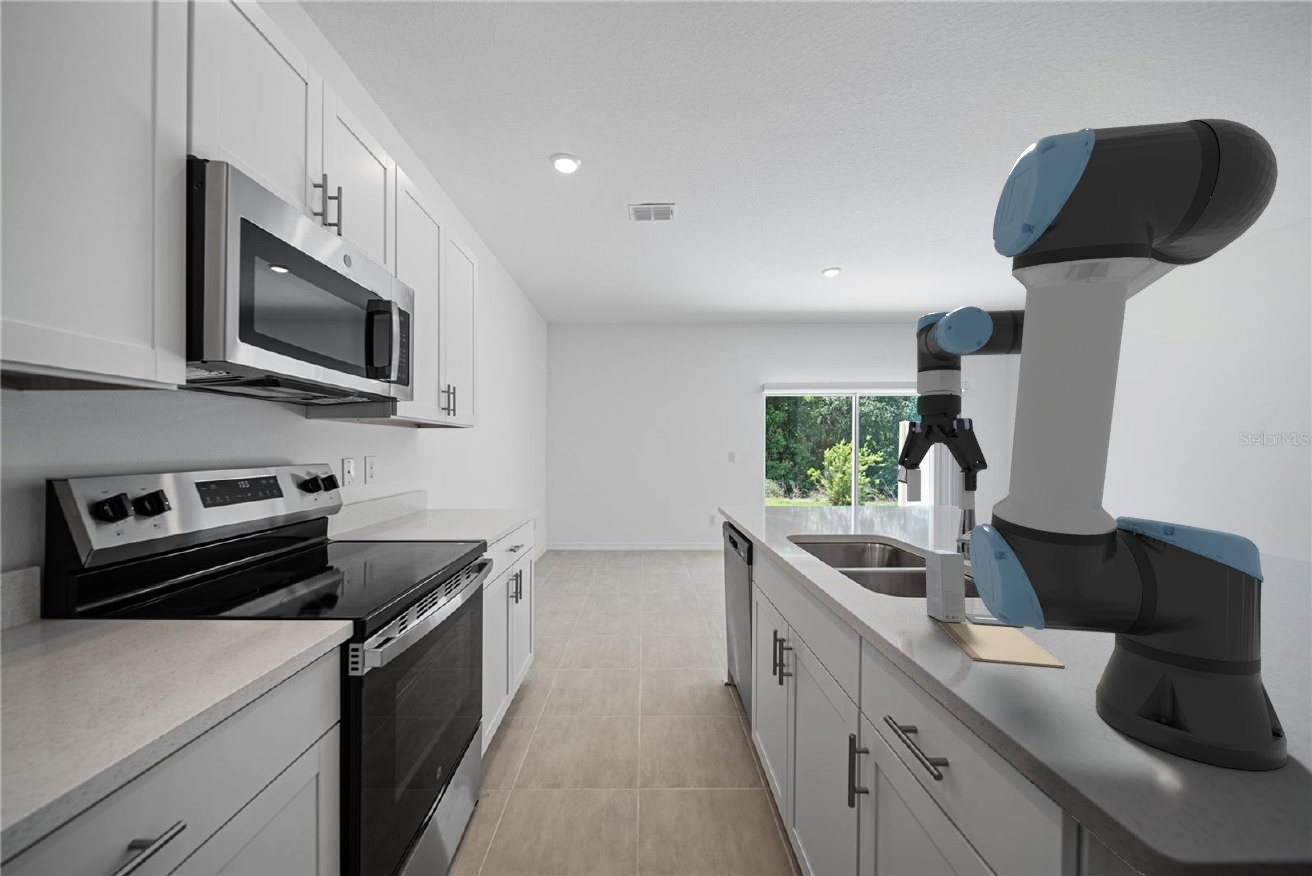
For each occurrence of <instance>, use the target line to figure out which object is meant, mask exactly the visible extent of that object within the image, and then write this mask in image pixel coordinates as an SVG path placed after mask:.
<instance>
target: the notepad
mask: <svg viewBox="0 0 1312 876" xmlns="http://www.w3.org/2000/svg"><path fill="white" fill-rule="evenodd" d="M938 624H939V626H940V625H941V626H942V627H941V626H940V627H941V628H942V629H943V630H944V629H945V630H944V631H945V632H946V633H947V634H948V635H949V636H950V638H952V640H953V639H954V642H955V643H956V644H957V645H958V646H959V647H960V648H961V649H962V650H963V652H964V653H965V654H966V655H967V656H968V657H969V658H970V659H971V660H972V661H980V662H981V661H983V662H990V663H1005V664H1015V665H1016V664H1017V665H1028V666H1038V667H1039V666H1040V667H1041V666H1043V667H1051V668H1066V665H1065V664H1064V663H1062V662H1060V661H1059V660H1058V659H1057V658H1055V657H1054V656H1053V655H1051V654H1050V653H1048V652H1047V651H1046V650H1045V649H1043V648H1042V647H1041V646H1039V645H1038V644H1037V643H1035V642H1034V641H1033V640H1032V639H1030V638H1029V637H1028V636H1026V635H1025V634H1024V633H1022V632H1021V631H1020V630H1019V629H1017V627H1010V626H996V625H982V624H967V623H957V622H942V621H939V622H938Z"/></svg>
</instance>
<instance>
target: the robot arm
mask: <svg viewBox="0 0 1312 876" xmlns="http://www.w3.org/2000/svg"><path fill="white" fill-rule="evenodd" d="M1278 172H1279V171H1278V161H1277V157H1276V154H1275V153H1274V150H1273V148H1272V146H1271V144H1270V143H1269V142H1268V141H1267V139H1266V137H1264V136H1263V135H1262V134H1260V133H1259V132H1258V131H1257V130H1256V129H1254V128H1252V127H1250V126H1248V125H1245V124H1243V123H1241V122H1239V121H1233V120H1229V119H1225V118H1199V119H1190V120H1187V121H1176V122H1164V123H1163V122H1162V123H1154V124H1153V123H1152V124H1150V123H1149V124H1142V125H1141V124H1140V125H1129V126H1127V125H1126V126H1115V127H1114V126H1113V127H1105V128H1103V127H1102V128H1090V127H1089V128H1088V127H1087V128H1083V129H1081V130H1078V131H1074V132H1068V133H1061V134H1060V133H1059V134H1054V135H1048V136H1045V137H1043V138H1040V139H1038V140H1037V141H1035V142H1034V143H1032V144H1031V145H1030V146H1029V147H1028V148H1027V149H1026V150H1025V151H1024V152H1023V153H1022V154H1021V156H1020V157H1019V158H1018V159H1017V161H1016V162H1015V164H1014V166H1013V168H1012V169H1011V171H1010V172H1009V175H1008V177H1007V179H1006V180H1005V183H1004V185H1003V188H1002V191H1001V193H1000V196H999V199H998V203H997V206H996V210H995V214H994V220H993V226H992V239H993V241H994V242H993V243H994V244H993V245H994V246H993V247H994V250H995V251H996V253H997V254H999V255H1001V256H1004V257H1005V258H1012V268H1011V275H1012V276H1013V278H1015V280H1017V281H1018V282H1019V283H1020V284H1021V285H1022V286H1023V287H1024V288H1025V292H1026V294H1025V302H1024V303H1025V304H1024V309H1008V310H984V309H982V308H979V307H976V306H972V305H971V306H967V305H966V306H962V307H959V308H957V309H954V310H952V311H938V312H931V313H928V314H924V315H922V316H921V317H919V319H918V321H917V331H916V334H915V335H916V350H917V351H916V352H917V354H916V357H917V358H916V364H917V365H916V366H917V367H916V368H917V373H916V393H917V394H918V395H920V396H918V397H917V399H916V414H917V415H918V416H920V417H921V420H920V421H919V420H910V421H909V423H908V430H907V431H908V432H907V434H906V437H905V441H904V443H903V446H902V450H901V453H900V455H899V457H898V461H897V464H898V466H902V468H904V470H905V484H906V502H910V503H911V502H921V501H922V498H921V497H922V469H921V467H920V465H921V463H922V461H924V459H925V457H926V455H927V453H928V452H929V450H930V448H931V447H932V446H933V445H935V444H942V445H944V446H946V447H947V449H948V450H949V452H950V453H951V455H952V457H953V458H954V460H955V461H956V463H957V464H958V466H959V468H960V470H959V472H958V510H975V508H976V506H975V503H976V502H975V495H976V494H975V492H976V491H977V489H978V486H977V485H978V477H977V476H978V473H979V472H981V471H985V470H987V469H988V463H987V461H986V459H985V456H984V454H983V450H982V448H981V446H980V443H979V442H978V441H979V440H978V439H977V437H976V434H975V431H974V425H973V419H972V418H970V417H969V418H967V417H958V415H960V414H961V413H962V397H961V396H960V394H959V393H960V392H962V357H964V356H965V357H966V356H968V357H969V356H996V355H997V356H1001V355H1003V356H1004V355H1020V360H1019V361H1020V362H1019V373H1018V385H1017V396H1016V405H1015V406H1016V407H1015V418H1014V430H1013V442H1012V454H1011V463H1010V464H1011V466H1010V477H1009V485H1008V488H1009V489H1008V494H1007V496H1006V497H1004V498H1002V499H1001V500H1000V501H998V502H997V503H996V502H995V504H994V505H993V506H992V513H991V520H990V521H991V522H990V524H989V523H982V524H978V525H976V526H975V527H974V528H973V529H972V531H971V534H970V536H969V540H968V541H969V544H968V549H969V550H968V551H969V563H970V567H971V573H972V577H973V581H974V584H975V586H976V589H977V592H978V595H979V597H980V599H981V601H982V604H983V605H984V607H985V608H986V609H987V611H988V612H989V613H990V615H993V616H994V617H995V618H996V619H997V620H999V621H1000V622H1002V623H1005V624H1008V625H1015V626H1023V628H1024V627H1025V628H1032V629H1034V630H1037V631H1043V630H1055V631H1057V630H1058V631H1059V630H1060V631H1072V632H1073V631H1074V632H1091V633H1103V634H1104V633H1105V634H1114V648H1113V651H1112V653H1111V655H1110V658H1109V660H1108V662H1107V664H1106V666H1105V668H1104V670H1103V673H1102V674H1101V675H1102V676H1101V677H1100V678H1099V679H1100V680H1099V682H1098V684H1097V686H1096V689H1095V710H1096V712H1097V713H1098V715H1099V717H1101V718H1102V719H1103V720H1104V721H1105V722H1106V723H1108V724H1109V725H1110V726H1112V727H1114V728H1115V729H1117V730H1119V731H1120V732H1122V733H1124V734H1125V735H1127V736H1130V737H1131V738H1133V739H1136V740H1138V741H1140V742H1142V743H1145V744H1147V745H1149V746H1152V747H1155V748H1157V749H1160V750H1163V751H1165V752H1168V753H1171V754H1174V755H1177V756H1181V757H1184V758H1187V759H1191V760H1195V761H1199V762H1203V763H1206V764H1211V765H1216V766H1221V767H1228V768H1233V769H1240V770H1251V771H1253V770H1254V771H1262V770H1263V771H1265V770H1266V771H1267V770H1274V769H1278V768H1281V767H1283V766H1285V765H1286V763H1287V761H1288V741H1287V740H1288V739H1287V735H1286V733H1285V731H1284V729H1283V727H1282V724H1281V721H1280V719H1279V717H1278V714H1277V712H1276V710H1275V708H1274V705H1273V703H1272V700H1271V699H1270V696H1269V694H1268V692H1267V691H1268V690H1267V688H1266V687H1265V685H1264V682H1263V679H1262V678H1263V677H1262V583H1264V582H1265V581H1264V580H1265V579H1264V576H1263V575H1262V574H1263V573H1262V567H1261V566H1262V565H1261V558H1260V556H1261V555H1260V551H1259V550H1260V549H1259V548H1258V546H1257V545H1256V544H1255V543H1254V542H1253V541H1252V540H1251V539H1249V538H1247V537H1246V536H1244V535H1243V536H1242V535H1239V534H1235V533H1230V532H1225V531H1221V530H1214V529H1208V528H1203V527H1197V526H1191V525H1185V524H1178V523H1172V522H1167V521H1162V520H1161V521H1160V520H1154V519H1146V518H1139V517H1131V516H1122V515H1121V516H1118V517H1117V518H1114V517H1113V516H1112V515H1111V514H1110V513H1108V512H1107V511H1106V510H1105V509H1104V506H1103V496H1104V491H1105V490H1104V489H1105V482H1106V481H1105V480H1106V474H1107V473H1106V472H1107V463H1108V456H1109V449H1110V448H1109V446H1110V440H1111V439H1110V438H1111V431H1112V423H1113V414H1114V407H1115V405H1114V404H1115V398H1116V388H1117V380H1118V371H1119V364H1120V363H1119V362H1120V354H1121V345H1122V340H1123V339H1122V336H1123V329H1124V320H1125V313H1126V312H1125V311H1126V303H1127V301H1128V300H1129V299H1131V298H1133V297H1134V296H1136V295H1137V294H1138V293H1140V292H1142V291H1143V290H1145V289H1146V288H1148V287H1150V285H1152V284H1154V283H1155V282H1157V281H1158V280H1160V279H1162V278H1163V277H1164V276H1166V275H1168V274H1169V273H1171V272H1172V271H1174V270H1175V269H1176V268H1178V267H1184V266H1191V265H1194V264H1198V263H1201V262H1203V261H1205V260H1207V259H1209V258H1211V257H1212V256H1214V255H1215V254H1217V253H1218V252H1220V251H1221V250H1223V249H1224V248H1226V247H1228V246H1229V245H1230V244H1232V243H1233V242H1234V241H1236V240H1237V239H1238V238H1241V236H1243V234H1245V233H1246V232H1247V231H1248V230H1249V229H1250V228H1251V227H1252V226H1253V225H1255V224H1256V222H1258V220H1259V218H1260V217H1261V216H1262V214H1263V213H1264V212H1265V210H1266V209H1267V207H1268V205H1269V204H1270V203H1271V200H1272V197H1273V195H1274V193H1275V190H1276V186H1277V181H1278V180H1277V179H1278V176H1279V175H1278ZM958 394H959V395H958Z"/></svg>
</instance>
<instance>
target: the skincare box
mask: <svg viewBox="0 0 1312 876" xmlns="http://www.w3.org/2000/svg"><path fill="white" fill-rule="evenodd" d="M964 557H965V555H964V554H963V553H959V552H954V551H951V550H946V549H925V583H926V586H925V589H926V614H927V615H928V616H931V617H933V618H934V619H937V620H938V621H939V622H946V623H966V621H967V620H966V619H967V618H966V614H967V613H966V589H965V588H966V587H965V585H966V583H965V560H964V559H965V558H964Z"/></svg>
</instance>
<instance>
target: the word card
mask: <svg viewBox="0 0 1312 876" xmlns="http://www.w3.org/2000/svg"><path fill="white" fill-rule="evenodd" d="M966 619H967V620H968V621H969V622H970V623H971V624H972V625H984V626H998V627H1012V628H1024V626H1015V625H1008V624H1005V623H1002V622H1000V621H999V620H997V619H996V618H995V617H994V616H993V615H992V614H980V613H966Z"/></svg>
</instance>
